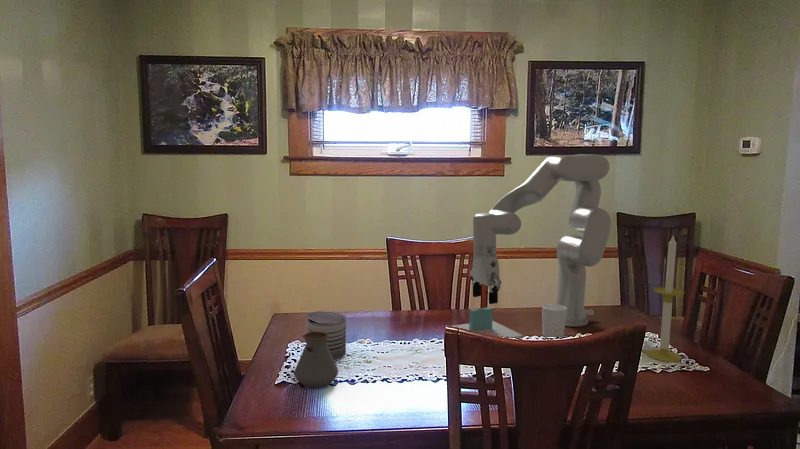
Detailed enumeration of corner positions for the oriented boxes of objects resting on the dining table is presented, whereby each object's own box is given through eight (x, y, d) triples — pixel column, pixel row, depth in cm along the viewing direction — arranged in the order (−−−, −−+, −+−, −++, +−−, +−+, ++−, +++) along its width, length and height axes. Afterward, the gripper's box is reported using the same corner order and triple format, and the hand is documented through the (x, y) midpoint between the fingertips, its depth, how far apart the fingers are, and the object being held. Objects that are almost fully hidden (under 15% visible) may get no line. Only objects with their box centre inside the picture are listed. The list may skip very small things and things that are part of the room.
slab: (488, 326, 199) (489, 307, 198) (492, 328, 197) (492, 308, 196) (469, 329, 195) (469, 309, 194) (472, 331, 194) (472, 311, 193)
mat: (491, 321, 206) (491, 320, 206) (522, 337, 190) (522, 335, 190) (445, 328, 198) (445, 326, 198) (474, 345, 182) (474, 343, 182)
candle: (685, 363, 169) (696, 237, 164) (649, 360, 171) (659, 235, 166) (676, 351, 179) (686, 232, 174) (642, 348, 181) (651, 230, 176)
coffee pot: (298, 373, 158) (297, 320, 156) (340, 373, 158) (340, 320, 156) (284, 408, 137) (283, 348, 135) (332, 409, 137) (332, 348, 135)
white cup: (567, 340, 188) (569, 310, 186) (543, 339, 188) (545, 310, 187) (561, 332, 196) (563, 303, 194) (538, 332, 196) (539, 303, 194)
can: (323, 345, 181) (323, 307, 179) (353, 352, 175) (353, 313, 173) (299, 356, 171) (299, 317, 169) (330, 363, 165) (330, 323, 164)
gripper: (509, 253, 186) (509, 304, 189) (479, 245, 202) (480, 292, 204) (490, 256, 183) (490, 308, 186) (461, 247, 199) (462, 295, 201)
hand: (485, 299), depth 195 cm, fingers open, 9 cm apart
